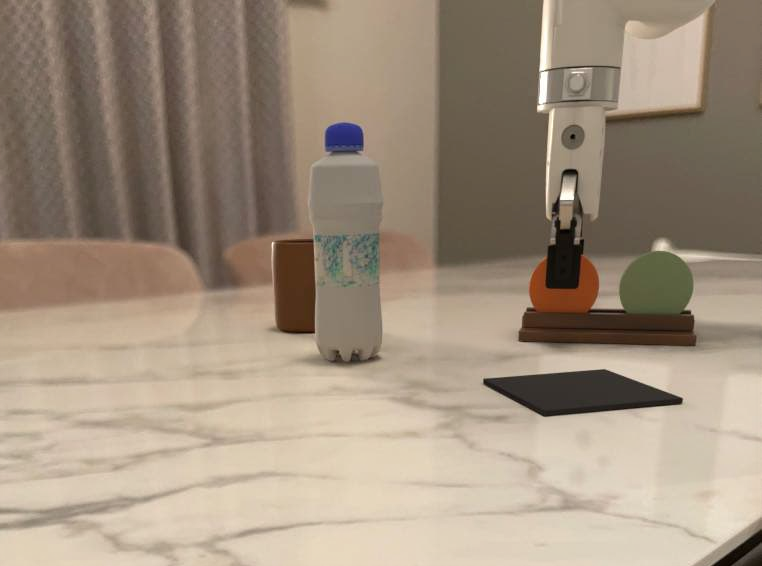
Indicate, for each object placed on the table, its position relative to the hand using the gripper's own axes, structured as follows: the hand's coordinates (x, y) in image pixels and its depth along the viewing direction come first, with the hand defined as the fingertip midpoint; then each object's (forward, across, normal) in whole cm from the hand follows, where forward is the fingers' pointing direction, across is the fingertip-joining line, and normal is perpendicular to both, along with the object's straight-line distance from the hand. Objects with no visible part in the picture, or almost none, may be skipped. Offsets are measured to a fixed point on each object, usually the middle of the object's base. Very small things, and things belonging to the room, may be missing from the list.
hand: (563, 282), depth 87 cm
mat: (+5, -26, -2) cm, 27 cm away
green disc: (+4, 0, -9) cm, 10 cm away
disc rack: (+5, 0, -4) cm, 7 cm away
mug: (+6, +1, +26) cm, 27 cm away
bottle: (+6, -16, +19) cm, 25 cm away
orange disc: (+4, 0, 0) cm, 4 cm away
